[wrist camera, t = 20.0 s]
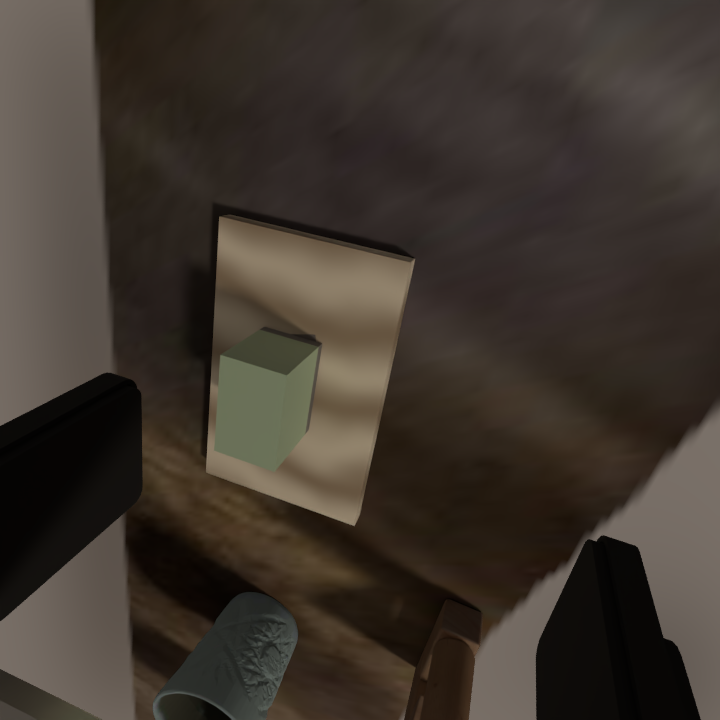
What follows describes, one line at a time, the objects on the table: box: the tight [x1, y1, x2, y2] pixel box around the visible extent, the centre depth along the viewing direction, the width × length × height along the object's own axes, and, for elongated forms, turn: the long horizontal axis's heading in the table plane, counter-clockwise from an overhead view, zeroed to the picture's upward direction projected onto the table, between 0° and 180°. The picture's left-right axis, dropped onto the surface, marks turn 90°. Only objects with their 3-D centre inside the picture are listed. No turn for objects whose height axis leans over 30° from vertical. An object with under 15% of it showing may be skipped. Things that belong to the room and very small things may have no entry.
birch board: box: [206, 214, 415, 526], centre depth 42 cm, size 24×15×2 cm, turn 170°
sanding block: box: [214, 327, 322, 472], centre depth 39 cm, size 8×5×6 cm, turn 170°
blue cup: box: [153, 592, 298, 720], centre depth 51 cm, size 10×10×12 cm
